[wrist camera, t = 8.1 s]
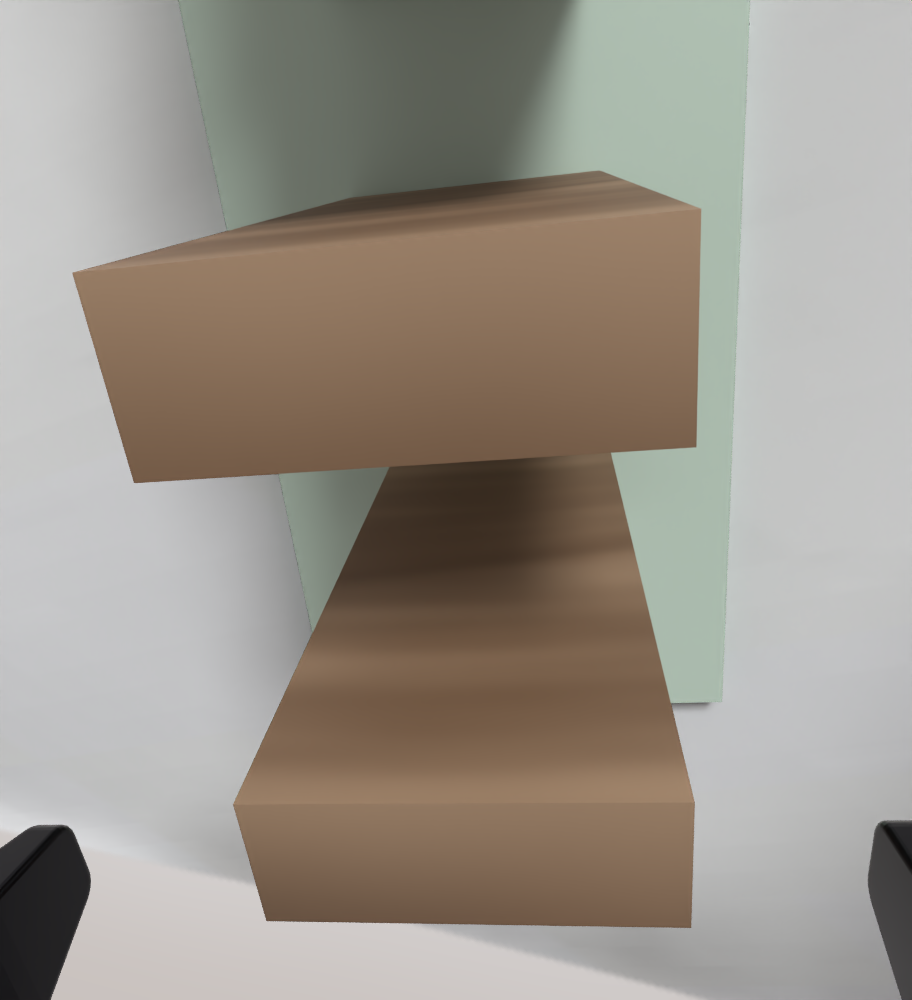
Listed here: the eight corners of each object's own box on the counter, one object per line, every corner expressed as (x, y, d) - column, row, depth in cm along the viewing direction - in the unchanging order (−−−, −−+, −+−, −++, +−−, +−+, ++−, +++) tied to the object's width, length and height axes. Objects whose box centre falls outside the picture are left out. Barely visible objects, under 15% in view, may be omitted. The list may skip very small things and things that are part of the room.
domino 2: (391, 462, 17) (232, 804, 8) (610, 448, 17) (694, 802, 8) (401, 533, 18) (266, 921, 9) (611, 523, 18) (691, 927, 8)
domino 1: (349, 197, 15) (72, 273, 6) (599, 170, 15) (700, 208, 6) (363, 291, 16) (135, 482, 7) (602, 269, 15) (696, 446, 6)
